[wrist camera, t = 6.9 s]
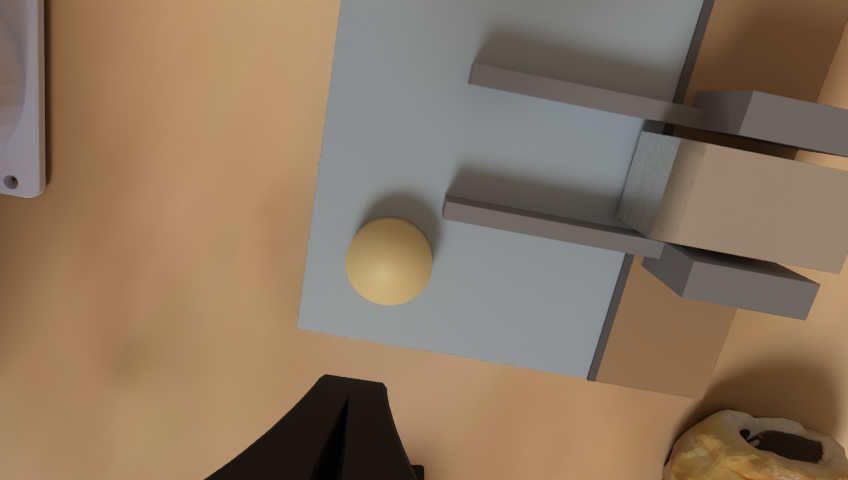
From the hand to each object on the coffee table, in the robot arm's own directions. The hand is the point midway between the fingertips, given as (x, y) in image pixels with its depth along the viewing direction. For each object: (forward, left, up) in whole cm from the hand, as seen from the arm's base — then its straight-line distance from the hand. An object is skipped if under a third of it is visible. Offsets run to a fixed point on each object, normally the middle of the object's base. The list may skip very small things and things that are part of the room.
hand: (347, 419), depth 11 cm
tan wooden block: (+11, +5, -8) cm, 15 cm away
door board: (+5, +5, -10) cm, 12 cm away
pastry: (+17, -7, -10) cm, 21 cm away
